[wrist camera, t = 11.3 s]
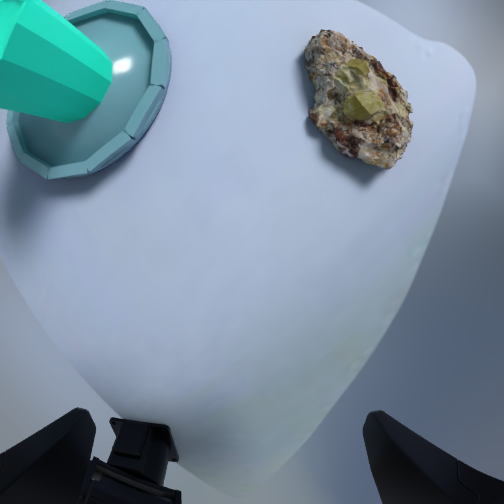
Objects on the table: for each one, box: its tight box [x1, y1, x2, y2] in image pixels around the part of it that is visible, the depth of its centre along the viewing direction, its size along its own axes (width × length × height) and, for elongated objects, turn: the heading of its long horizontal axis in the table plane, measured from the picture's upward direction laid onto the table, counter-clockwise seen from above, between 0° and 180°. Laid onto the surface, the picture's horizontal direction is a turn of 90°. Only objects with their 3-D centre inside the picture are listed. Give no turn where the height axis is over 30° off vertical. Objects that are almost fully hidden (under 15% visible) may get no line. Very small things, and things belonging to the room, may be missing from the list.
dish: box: [6, 0, 171, 179], centre depth 15 cm, size 14×14×2 cm
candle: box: [0, 0, 113, 123], centre depth 9 cm, size 6×6×12 cm
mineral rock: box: [304, 30, 413, 169], centre depth 16 cm, size 11×4×8 cm
